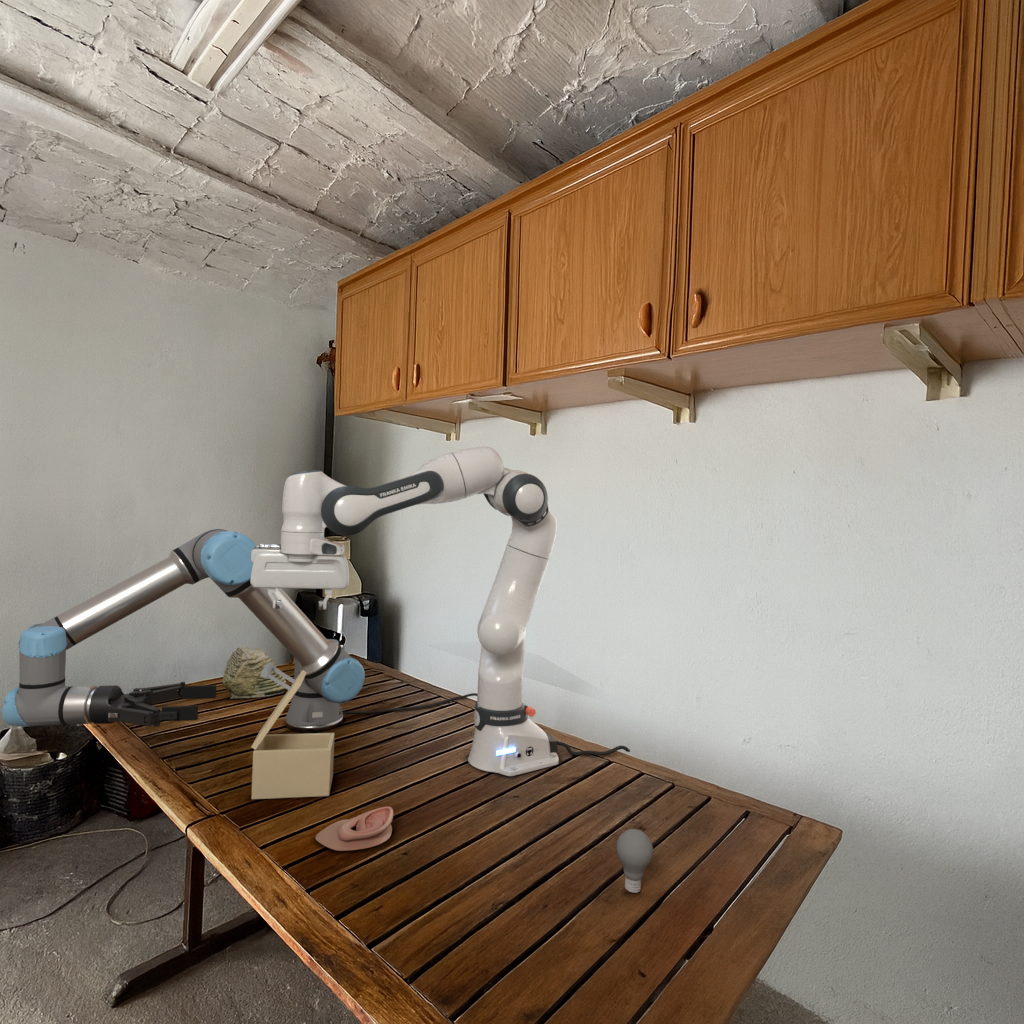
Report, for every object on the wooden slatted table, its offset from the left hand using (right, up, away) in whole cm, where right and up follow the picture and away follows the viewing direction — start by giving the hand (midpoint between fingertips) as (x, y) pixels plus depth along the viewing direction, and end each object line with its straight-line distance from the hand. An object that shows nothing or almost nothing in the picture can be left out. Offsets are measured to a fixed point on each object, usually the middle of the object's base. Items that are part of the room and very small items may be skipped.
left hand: (207, 701), depth 134 cm
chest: (+17, -20, +4) cm, 26 cm away
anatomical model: (+35, -21, -15) cm, 43 cm away
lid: (+15, -3, +3) cm, 15 cm away
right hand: (+18, +19, +3) cm, 27 cm away
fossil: (-16, -17, +64) cm, 69 cm away
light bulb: (+84, -23, -28) cm, 92 cm away
